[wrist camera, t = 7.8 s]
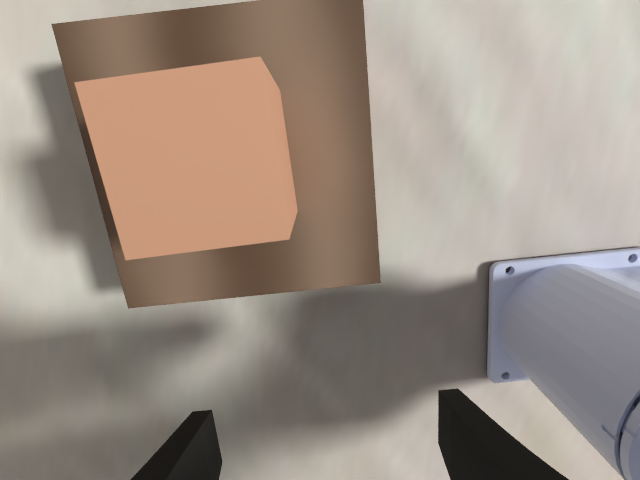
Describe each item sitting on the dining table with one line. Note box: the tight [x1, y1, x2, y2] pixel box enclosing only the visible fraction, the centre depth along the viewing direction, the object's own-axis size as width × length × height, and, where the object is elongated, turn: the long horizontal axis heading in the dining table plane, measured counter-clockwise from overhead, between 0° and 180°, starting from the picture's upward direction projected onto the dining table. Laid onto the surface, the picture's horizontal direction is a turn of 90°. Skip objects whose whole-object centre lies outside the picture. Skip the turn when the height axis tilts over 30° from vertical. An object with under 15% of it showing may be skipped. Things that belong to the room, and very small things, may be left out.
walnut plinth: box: [52, 0, 381, 308], centre depth 16 cm, size 12×12×4 cm
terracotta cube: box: [74, 56, 298, 260], centre depth 12 cm, size 5×5×5 cm
